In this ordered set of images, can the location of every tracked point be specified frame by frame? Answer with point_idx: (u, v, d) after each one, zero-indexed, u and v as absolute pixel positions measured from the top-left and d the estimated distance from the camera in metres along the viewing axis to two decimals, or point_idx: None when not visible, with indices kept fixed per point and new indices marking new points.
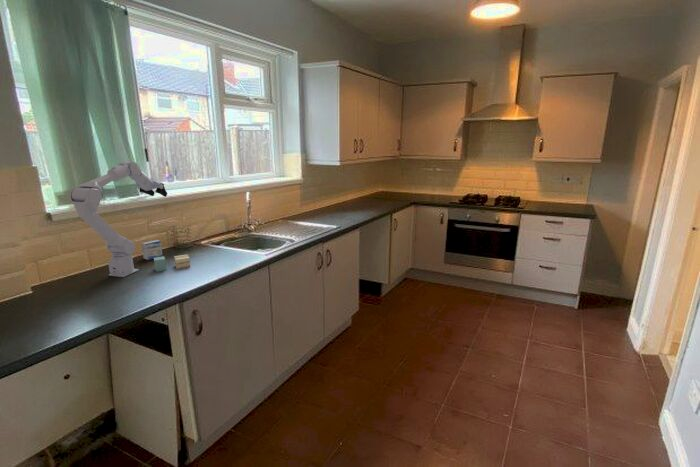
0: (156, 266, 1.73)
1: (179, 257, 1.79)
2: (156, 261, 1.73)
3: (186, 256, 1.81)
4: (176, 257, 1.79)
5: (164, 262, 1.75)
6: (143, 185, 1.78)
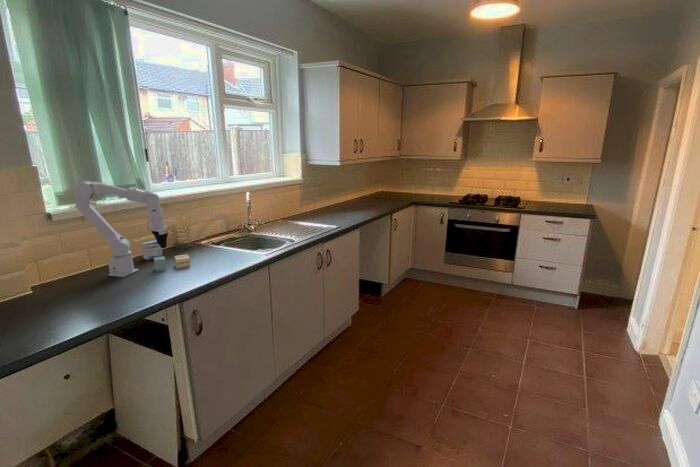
0: (156, 266, 1.73)
1: (179, 257, 1.79)
2: (156, 261, 1.73)
3: (186, 256, 1.81)
4: (176, 257, 1.79)
5: (164, 262, 1.75)
6: (151, 222, 1.70)
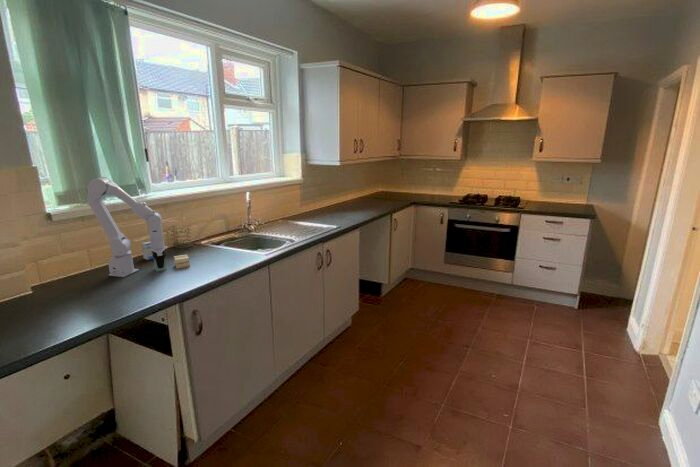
0: (156, 266, 1.73)
1: (178, 257, 1.79)
2: None
3: (185, 256, 1.81)
4: (175, 257, 1.79)
5: (164, 262, 1.75)
6: (151, 242, 1.71)
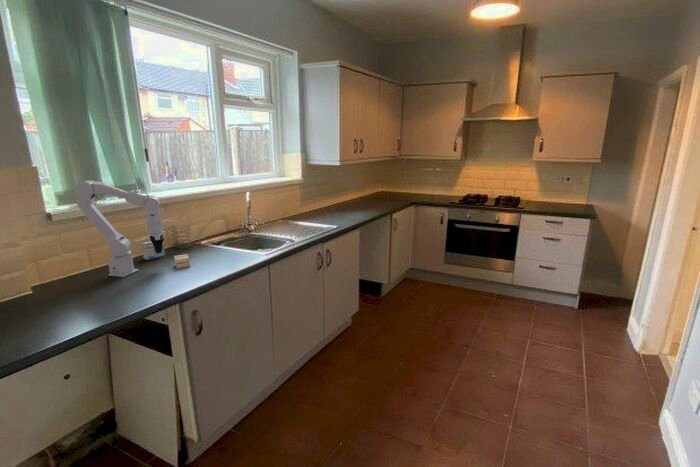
0: (154, 251, 1.72)
1: (179, 257, 1.79)
2: None
3: (186, 256, 1.81)
4: (176, 257, 1.79)
5: (163, 247, 1.73)
6: (148, 226, 1.69)
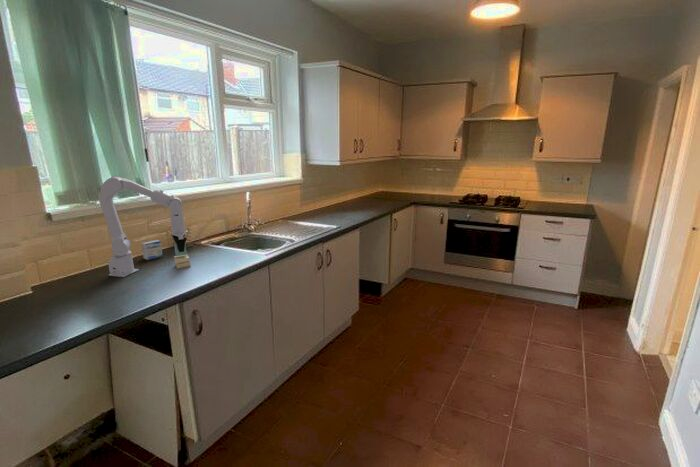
0: (177, 251, 1.76)
1: (179, 257, 1.79)
2: None
3: (186, 256, 1.81)
4: (176, 257, 1.79)
5: None
6: (172, 226, 1.74)
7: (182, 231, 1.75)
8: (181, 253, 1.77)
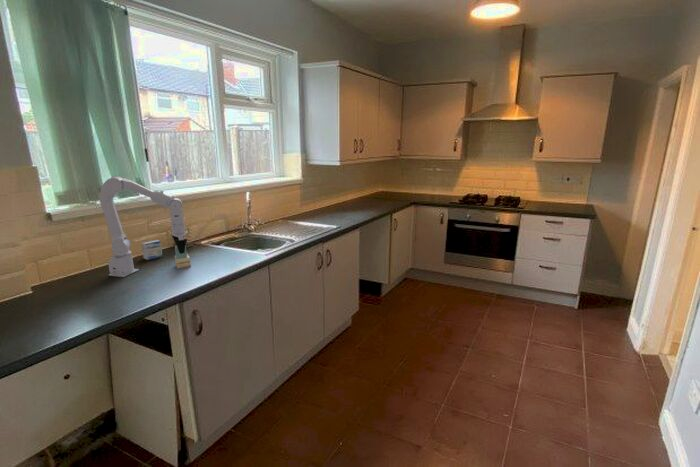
0: (177, 253, 1.76)
1: None
2: (177, 248, 1.76)
3: None
4: None
5: (185, 250, 1.78)
6: (172, 227, 1.74)
7: (182, 232, 1.75)
8: (181, 256, 1.78)
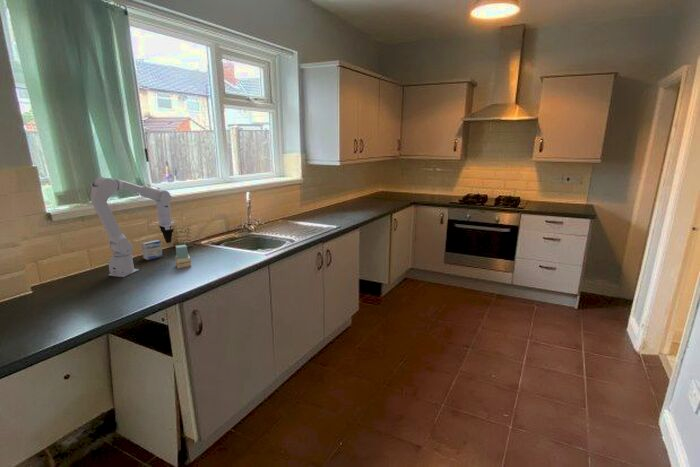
0: (178, 254, 1.76)
1: None
2: (178, 249, 1.76)
3: None
4: None
5: (186, 250, 1.78)
6: (159, 217, 1.81)
7: (169, 222, 1.82)
8: (183, 256, 1.78)
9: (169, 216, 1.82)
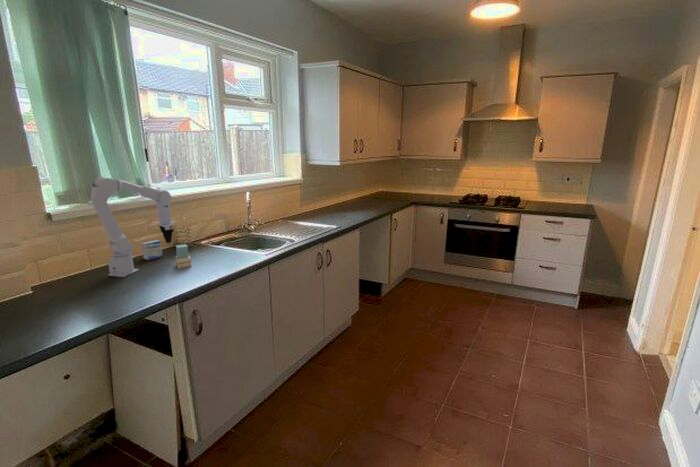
0: (179, 253, 1.77)
1: None
2: (179, 248, 1.76)
3: None
4: (177, 257, 1.80)
5: (186, 249, 1.78)
6: (159, 217, 1.81)
7: (169, 222, 1.82)
8: (183, 256, 1.78)
9: (169, 216, 1.82)
